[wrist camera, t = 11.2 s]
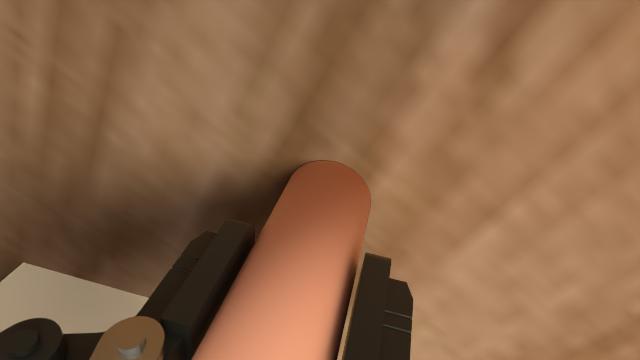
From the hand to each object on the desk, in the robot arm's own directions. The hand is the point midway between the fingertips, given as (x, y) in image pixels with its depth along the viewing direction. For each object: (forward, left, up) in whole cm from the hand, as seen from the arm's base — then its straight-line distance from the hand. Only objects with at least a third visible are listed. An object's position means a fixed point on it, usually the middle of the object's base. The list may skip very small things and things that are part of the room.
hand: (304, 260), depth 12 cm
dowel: (0, 0, -3) cm, 3 cm away
